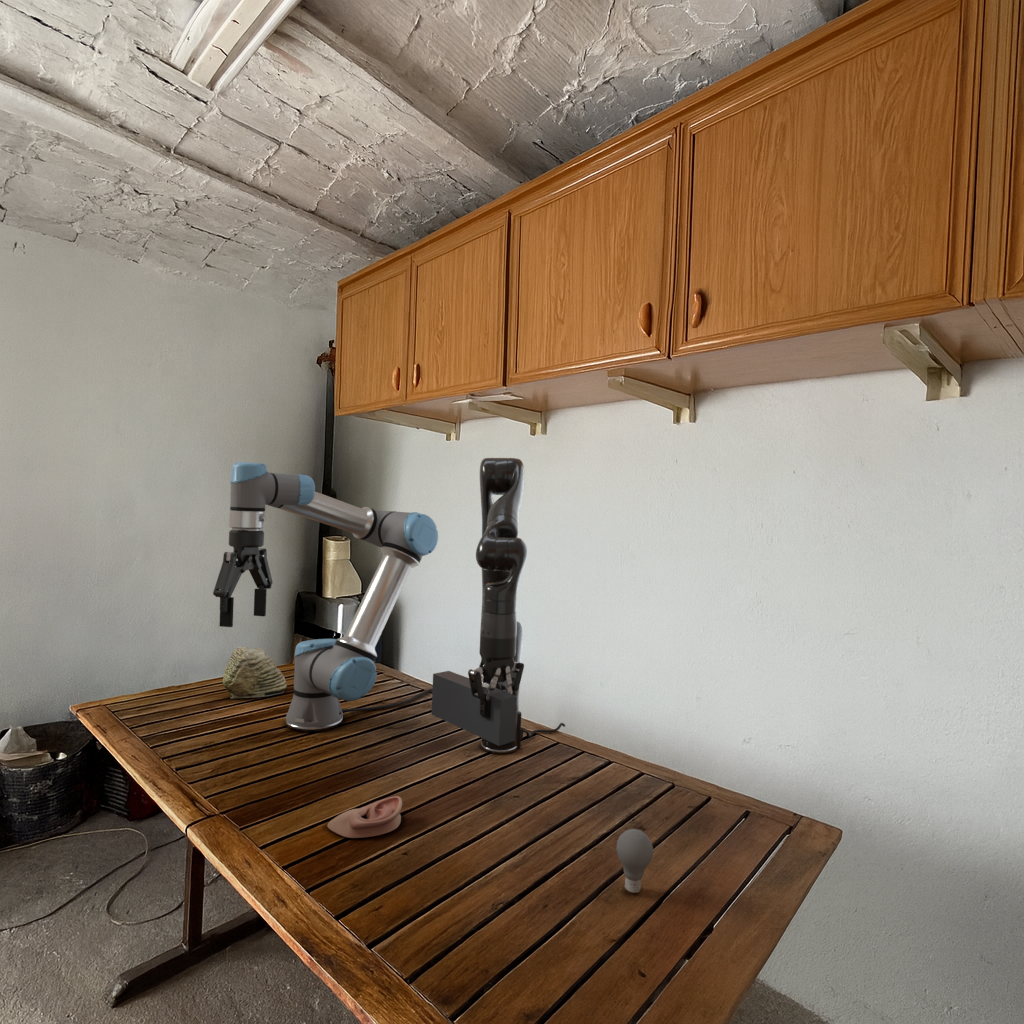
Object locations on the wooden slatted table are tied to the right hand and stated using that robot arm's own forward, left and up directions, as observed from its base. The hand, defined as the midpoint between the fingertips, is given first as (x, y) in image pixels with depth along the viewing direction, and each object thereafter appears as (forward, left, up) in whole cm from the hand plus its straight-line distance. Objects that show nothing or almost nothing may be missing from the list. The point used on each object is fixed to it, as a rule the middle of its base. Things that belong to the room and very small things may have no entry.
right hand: (494, 714), depth 131 cm
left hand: (+46, -41, +14) cm, 63 cm away
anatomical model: (+25, -4, -20) cm, 32 cm away
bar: (+2, -7, -5) cm, 9 cm away
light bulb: (-10, +34, -20) cm, 41 cm away
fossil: (+37, -94, -20) cm, 103 cm away
